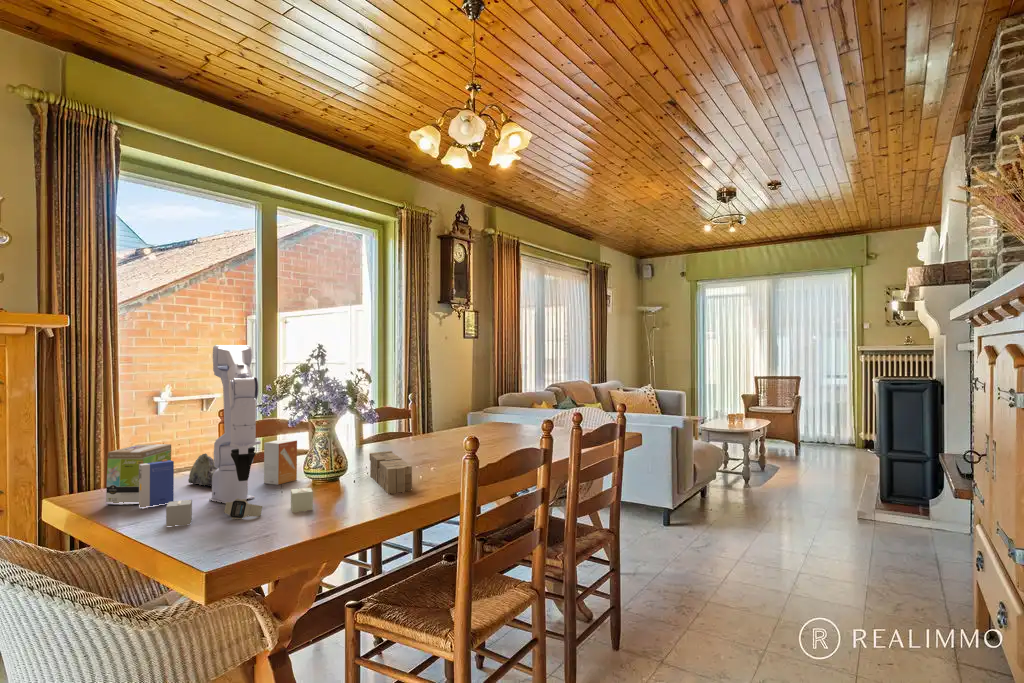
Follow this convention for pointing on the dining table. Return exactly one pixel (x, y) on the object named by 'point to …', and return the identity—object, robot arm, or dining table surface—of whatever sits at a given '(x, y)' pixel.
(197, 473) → the mineral rock
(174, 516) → the block marked 1
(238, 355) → the robot arm
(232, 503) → the wristwatch
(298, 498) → the block marked 7
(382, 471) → the block tower
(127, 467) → the tea box
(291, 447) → the small box
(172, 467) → the blue carton
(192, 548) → the dining table surface
